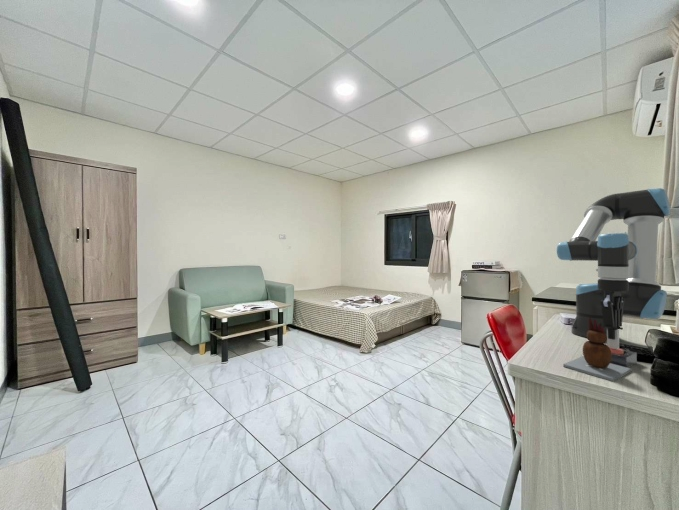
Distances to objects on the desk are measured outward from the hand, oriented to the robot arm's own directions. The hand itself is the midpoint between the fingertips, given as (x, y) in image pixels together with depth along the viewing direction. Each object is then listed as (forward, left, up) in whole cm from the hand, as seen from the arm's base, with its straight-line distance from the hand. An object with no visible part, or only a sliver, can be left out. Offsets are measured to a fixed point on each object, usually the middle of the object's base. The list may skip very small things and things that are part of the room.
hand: (612, 348), depth 94 cm
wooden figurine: (+13, 0, -4) cm, 13 cm away
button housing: (0, 0, -4) cm, 4 cm away
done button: (0, 0, -3) cm, 3 cm away
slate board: (+13, 0, -4) cm, 14 cm away
